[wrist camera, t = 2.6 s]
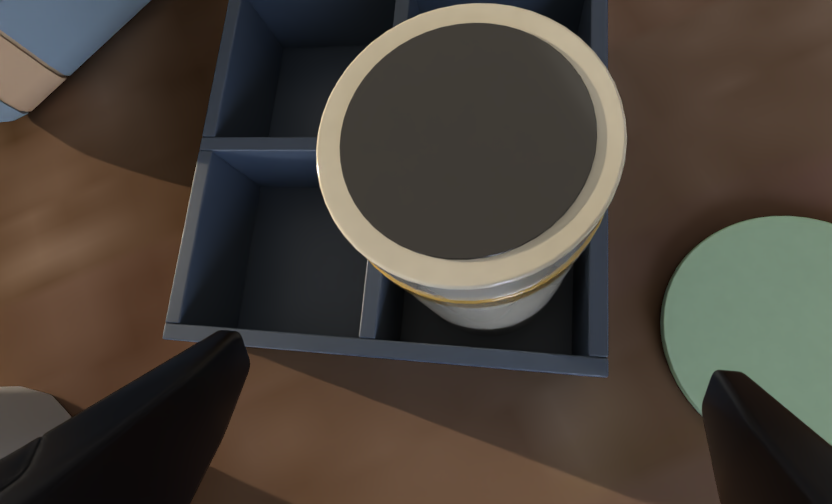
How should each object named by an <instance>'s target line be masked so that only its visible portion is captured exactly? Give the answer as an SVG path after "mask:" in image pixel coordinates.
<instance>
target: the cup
mask: <svg viewBox="0 0 832 504" xmlns="http://www.w3.org/2000/svg"><path fill="white" fill-rule="evenodd" d="M70 418H71V416H70V415H69V413H68V412H67V411H66V410H65V409H64V408H63V407H62V406H61V405H60V403H59V402H58V401H57V400H56V399H55V398H54V397H53V396H52V395H51V394H47V393H44V392H40V391H36V390H32V389H29V388H25V387H21V386H9V387H0V459H2V458H3V457H5V456H7V455H9V454H10V453H12V452H14V451H16V450H17V449H19V448H21V447H22V446H24V445H26V444H27V443H29V442H31V441H32V440H34V439H36V438H37V437H42V436H43V435H44V434H45V433H46V432H48V431H50V430H51V429H53V428H55V427H56V426H58V425H60V424H61V423H63V422H65V421H66V420H68V419H70Z"/></svg>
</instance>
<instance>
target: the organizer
mask: <svg viewBox="0 0 832 504" xmlns="http://www.w3.org/2000/svg"><path fill="white" fill-rule="evenodd" d="M470 3H495V4H502V5H509V6H515V7H519V8H523V9H526V10H530V11H533V12H536V13H538V14H541V15H543V16H546V17H548V18H550V19H552V20H554V21H556V22H558V23H559V24H561V25H563V26H565V27H566V28H568V29H569V30H570V31H572V32H573V33H574V34H576V35H577V36H578V37H580V38H581V39H582V40H583V41H584V42H585V43H586V44H587V45H588V46H589V47H590V48H591V49H592V50H593V51H594V52H595V53H596V54H597V56H598V57H599V58H600V60H601V61H602V62H603V64H604V65H605V66H606V68H607V70H608V0H229V3H228V8H227V13H226V18H225V23H224V28H223V33H222V38H221V43H220V48H219V53H218V58H217V64H216V69H215V74H214V79H213V84H212V89H211V94H210V99H209V104H208V109H207V114H206V119H205V124H204V129H203V135H202V136H203V138H202V140H201V145H200V151H199V154H198V159H197V164H196V169H195V174H194V179H193V185H192V190H191V195H190V200H189V205H188V210H187V215H186V220H185V225H184V230H183V235H182V240H181V245H180V250H179V256H178V261H177V266H176V271H175V276H174V281H173V286H172V291H171V296H170V301H169V306H168V311H167V316H166V322H167V323H166V324H165V327H164V332H163V339H166V340H177V341H188V342H200V341H201V340H203V339H205V338H206V337H208V336H210V335H212V334H213V333H215V332H217V331H219V330H230V331H237V332H239V333H240V334H241V336H242V339H243V341H244V344H245V347H256V348H267V349H279V350H290V351H302V352H313V353H325V354H336V355H348V356H359V357H370V358H382V359H393V360H405V361H416V362H428V363H439V364H451V365H462V366H474V367H485V368H497V369H508V370H520V371H531V372H543V373H554V374H566V375H577V376H589V377H603V378H606V377H608V358H606V357H608V208H607V210H606V212H605V214H604V216H603V219H602V221H601V224H600V226H599V227H598V229H597V231H596V233H595V234H594V236H593V238H592V239H591V241H590V243H589V244H588V246H587V247H586V249H585V250H584V251H583V253H582V254H581V255H580V256H579V258H578V259H577V260H576V261H575V263H574V264H573V265H572V266H571V268H570V270H569V271H568V273H567V274H566V276H565V278H564V279H563V281H562V282H561V284H560V286H559V287H558V289H557V291H556V292H555V294H554V295H553V297H552V299H551V300H550V302H549V303H548V305H547V307H546V308H545V309H544V310H543V312H542V313H541V314H540V315H539V316H538V317H537V318H536V319H535V320H534V321H533V322H531V323H530V324H529V325H527V326H526V327H524V328H522V329H520V330H518V331H515V332H513V333H510V334H506V335H502V336H493V337H485V336H477V335H472V334H468V333H465V332H463V331H460V330H458V329H456V328H454V327H453V326H451V325H450V324H448V323H447V322H446V321H444V320H443V319H442V318H441V317H439V316H438V315H437V314H436V313H434V312H433V311H432V310H431V309H429V308H428V307H427V306H426V305H424V304H423V303H422V302H421V301H419V300H418V299H417V298H416V297H414V296H413V295H412V294H411V293H409V292H407V291H405V290H404V289H402V288H401V287H399V286H397V285H396V284H394V283H393V282H392V281H390V280H389V279H388V278H387V277H385V276H384V275H383V274H382V273H381V272H379V271H378V270H377V269H376V268H375V267H374V266H373V265H372V264H371V263H370V262H369V261H368V260H367V259H366V258H365V257H364V256H363V255H362V254H361V253H360V252H358V251H357V250H356V249H355V248H354V247H353V246H352V244H351V243H350V242H349V241H348V240H347V239H346V238H345V237H344V236H343V234H342V233H341V231H340V230H339V228H338V227H337V225H336V224H335V222H334V221H333V219H332V217H331V215H330V213H329V211H328V209H327V207H326V205H325V202H324V199H323V196H322V193H321V189H320V186H319V180H318V174H317V164H316V147H317V137H318V130H319V126H320V122H321V117H322V114H323V111H324V109H325V106H326V103H327V101H328V98H329V96H330V94H331V93H332V91H333V89H334V87H335V85H336V83H337V81H338V80H339V79H340V77H341V76H342V74H343V73H344V71H345V70H346V68H347V67H348V66H349V65H350V64H351V63H352V61H353V60H354V59H355V58H356V57H357V56H358V54H360V53H361V52H362V51H363V50H364V49H365V48H366V47H367V46H368V45H369V44H370V43H371V42H373V41H374V40H375V39H377V38H378V37H380V36H381V35H382V34H384V33H385V32H386V31H388V30H390V29H391V28H393V27H395V26H397V25H398V24H400V23H402V22H404V21H406V20H408V19H410V18H413V17H415V16H417V15H419V14H422V13H425V12H429V11H432V10H435V9H438V8H443V7H448V6H453V5H459V4H470Z"/></svg>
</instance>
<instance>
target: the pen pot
mask: <svg viewBox="0 0 832 504" xmlns="http://www.w3.org/2000/svg"><path fill="white" fill-rule="evenodd" d="M626 148H627V128H626V118H625V113H624V109H623V104H622V100H621V98H620V95H619V92H618V90H617V87H616V84H615V82H614V81H613V79H612V77H611V75H610V73H609V72H608V70H607V68H606V66H605V65H604V64H603V62H602V61H601V60H600V58H599V57H598V56H597V54H596V53H595V52H594V51H593V50H592V49H591V48H590V47H589V46H588V45H587V44H586V43H585V42H584V41H583V40H582V39H581V38H580V37H578V36H577V35H576V34H574V33H573V32H572V31H570V30H569V29H568V28H566V27H565V26H563V25H561V24H559V23H558V22H556V21H554V20H552V19H550V18H548V17H546V16H543V15H541V14H538V13H536V12H533V11H530V10H526V9H523V8H519V7H515V6H509V5H502V4H495V3H470V4H459V5H453V6H448V7H443V8H438V9H435V10H432V11H429V12H425V13H422V14H419V15H417V16H415V17H413V18H410V19H408V20H406V21H404V22H402V23H400V24H398V25H397V26H395V27H393V28H391V29H390V30H388V31H386V32H385V33H384V34H382V35H381V36H380V37H378V38H377V39H375V40H374V41H373V42H371V43H370V44H369V45H368V46H367V47H366V48H365V49H364V50H363V51H362V52H361V53H360V54H358V56H357V57H356V58H355V59H354V60H353V61H352V63H351V64H350V65H349V66H348V67H347V68H346V70H345V71H344V73H343V74H342V76H341V77H340V79H339V80H338V81H337V83H336V85H335V87H334V89H333V91H332V93H331V94H330V96H329V98H328V101H327V103H326V106H325V109H324V111H323V114H322V117H321V122H320V126H319V130H318V137H317V147H316V164H317V174H318V180H319V186H320V189H321V193H322V196H323V199H324V202H325V205H326V207H327V209H328V211H329V213H330V215H331V217H332V219H333V221H334V222H335V224H336V225H337V227H338V228H339V230H340V231H341V233H342V234H343V236H344V237H345V238H346V239H347V240H348V241H349V242H350V243H351V244H352V246H353V247H354V248H355V249H356V250H357V251H358V252H360V253H361V254H362V255H363V256H364V257H365V258H366V259H367V260H368V261H369V262H370V263H371V264H372V265H373V266H374V267H375V268H376V269H377V270H378V271H379V272H381V273H382V274H383V275H384V276H385V277H387V278H388V279H389V280H390V281H392V282H393V283H394V284H396V285H397V286H399V287H401V288H402V289H404V290H405V291H407V292H409V293H411V294H412V295H413V296H414V297H416V298H417V299H418V300H419V301H421V302H422V303H423V304H424V305H426V306H427V307H428V308H429V309H431V310H432V311H433V312H434V313H436V314H437V315H438V316H439V317H441V318H442V319H443V320H444V321H446V322H447V323H448V324H450V325H451V326H453V327H454V328H456V329H458V330H460V331H463V332H465V333H468V334H472V335H477V336H485V337H493V336H502V335H506V334H510V333H513V332H515V331H518V330H520V329H522V328H524V327H526V326H527V325H529V324H530V323H531V322H533V321H534V320H535V319H536V318H537V317H538V316H539V315H540V314H541V313H542V312H543V310H544V309H545V308H546V307H547V305H548V303H549V302H550V300H551V299H552V297H553V295H554V294H555V292H556V291H557V289H558V287H559V286H560V284H561V282H562V281H563V279H564V278H565V276H566V274H567V273H568V271H569V270H570V268H571V266H572V265H573V264H574V263H575V261H576V260H577V259H578V258H579V256H580V255H581V254H582V253H583V251H584V250H585V249H586V247H587V246H588V244H589V243H590V241H591V239H592V238H593V236H594V234H595V233H596V231H597V229H598V227H599V226H600V224H601V221H602V219H603V216H604V214H605V212H606V210H607V208H608V206H609V205H610V203H611V201H612V200H613V197H614V195H615V192H616V190H617V187H618V185H619V183H620V180H621V176H622V172H623V168H624V164H625V158H626Z"/></svg>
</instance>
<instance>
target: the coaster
mask: <svg viewBox="0 0 832 504" xmlns="http://www.w3.org/2000/svg"><path fill="white" fill-rule="evenodd" d="M660 326H661V339H662V344H663V349H664V354H665V357H666V359H667V362H668V365H669V368H670V370H671V372H672V375H673V377H674V379H675V381H676V383H677V385H678V386H679V388H680V389H681V391H682V392H683V394H684V395H685V397H686V398H687V400H688V401H689V402H690V403H691V404H692V406H693V407H694V408H695V409H696V410H697V412H698V413H699V414H700V415H701V416H702V402H703V399H704V396H705V393H706V390H707V387H708V384H709V381H710V379H711V376H712V374H713V372H714V371H716V370H731V371H740V372H743V373H744V374H746V375H747V376H748V377H750V378H751V379H752V380H753V381H754V382H756V383H757V384H758V385H759V386H760V387H762V388H763V389H764V390H765V391H766V392H768V393H769V394H770V395H771V396H772V397H774V398H775V399H776V400H777V401H778V402H780V403H781V404H782V405H783V406H785V407H786V408H787V409H788V410H789V411H791V412H792V413H793V414H794V415H795V416H797V417H798V418H799V419H800V420H801V421H803V422H804V423H805V424H806V425H807V426H809V427H810V428H811V429H812V430H813V431H815V432H816V433H817V434H818V435H819V436H821V437H822V438H823V439H824V440H825V441H827V442H828V443H829V444H830V445H831V446H832V223H829V222H826V221H821V220H817V219H812V218H807V217H797V216H767V217H759V218H753V219H749V220H745V221H741V222H738V223H736V224H733V225H730V226H728V227H725V228H723V229H721V230H719V231H718V232H716V233H714V234H712V235H710V236H709V237H707V238H706V239H705V240H703V241H702V242H701V243H699V244H698V245H696V246H695V247H694V248H693V249H692V250H691V251H690V252H689V253H688V254H687V255H686V256H685V257H684V259H683V260H682V261H681V263H680V264H679V265H678V266H677V268H676V270H675V271H674V273H673V275H672V277H671V279H670V281H669V283H668V286H667V288H666V291H665V294H664V298H663V303H662V307H661V320H660Z"/></svg>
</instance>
